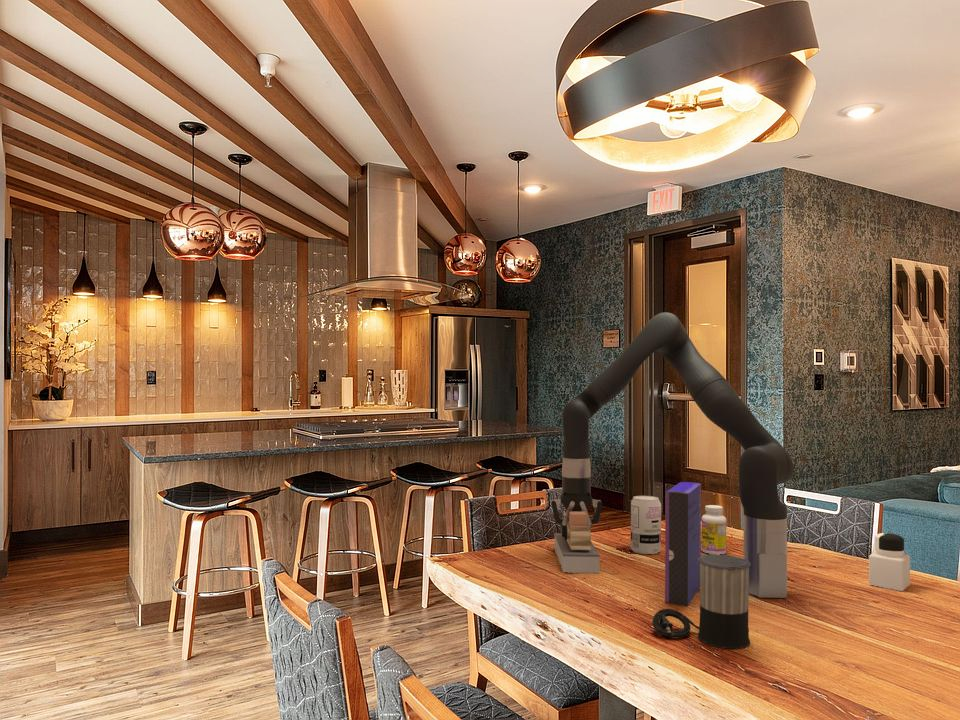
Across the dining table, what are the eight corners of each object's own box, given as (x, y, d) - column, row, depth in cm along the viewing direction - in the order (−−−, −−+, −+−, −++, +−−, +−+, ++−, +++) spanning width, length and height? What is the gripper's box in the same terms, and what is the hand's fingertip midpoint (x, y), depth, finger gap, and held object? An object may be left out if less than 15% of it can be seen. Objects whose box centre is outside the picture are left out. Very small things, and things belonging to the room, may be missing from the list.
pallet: (590, 549, 177) (590, 527, 178) (570, 549, 177) (571, 526, 178) (580, 532, 197) (580, 512, 198) (562, 532, 197) (562, 512, 198)
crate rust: (586, 530, 179) (586, 514, 180) (571, 530, 179) (571, 514, 180) (584, 527, 183) (584, 511, 184) (569, 526, 183) (569, 511, 184)
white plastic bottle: (910, 585, 167) (910, 534, 168) (903, 591, 162) (902, 539, 162) (876, 579, 172) (876, 529, 173) (868, 585, 167) (868, 534, 167)
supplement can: (637, 546, 204) (637, 494, 204) (665, 550, 199) (665, 497, 199) (626, 552, 197) (626, 498, 198) (654, 556, 192) (654, 501, 193)
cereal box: (680, 582, 168) (680, 481, 168) (700, 585, 166) (701, 482, 166) (665, 603, 152) (665, 491, 153) (687, 606, 150) (688, 493, 151)
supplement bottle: (696, 550, 199) (696, 505, 200) (714, 548, 202) (714, 503, 202) (713, 556, 193) (713, 509, 194) (731, 554, 196) (731, 507, 196)
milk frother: (761, 647, 127) (761, 564, 128) (684, 656, 123) (685, 570, 123) (714, 621, 141) (714, 546, 141) (643, 628, 137) (644, 551, 137)
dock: (599, 573, 175) (599, 554, 175) (563, 572, 175) (563, 554, 176) (586, 549, 199) (586, 533, 199) (554, 549, 199) (554, 533, 200)
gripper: (550, 476, 184) (550, 542, 184) (605, 477, 184) (605, 542, 184) (548, 472, 192) (548, 535, 191) (601, 473, 192) (601, 536, 191)
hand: (576, 538), depth 187 cm, fingers closed on pallet, 5 cm apart
